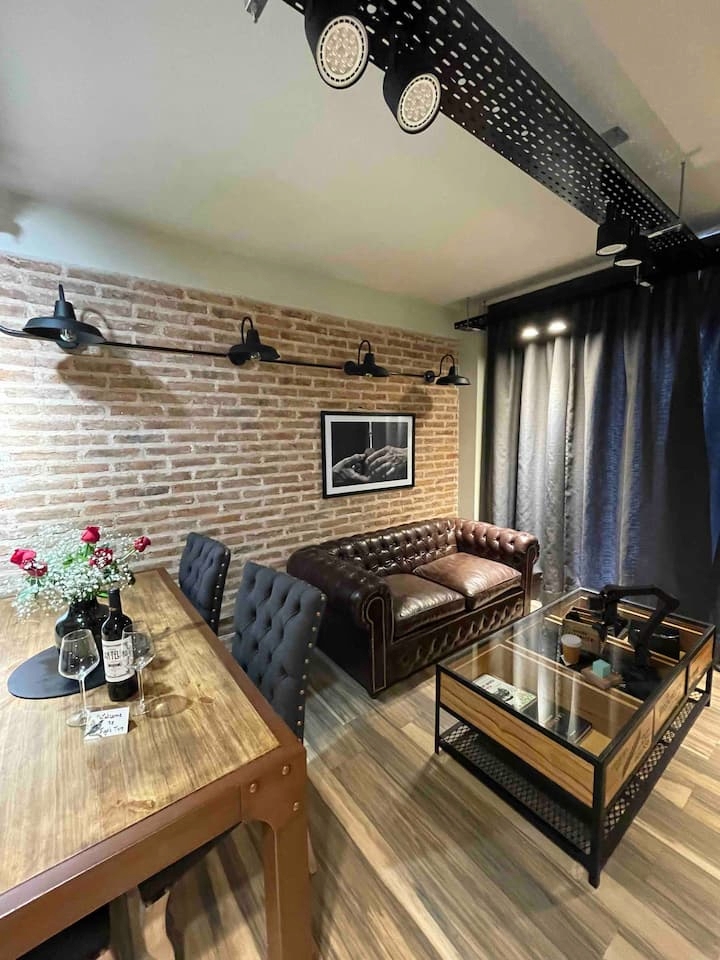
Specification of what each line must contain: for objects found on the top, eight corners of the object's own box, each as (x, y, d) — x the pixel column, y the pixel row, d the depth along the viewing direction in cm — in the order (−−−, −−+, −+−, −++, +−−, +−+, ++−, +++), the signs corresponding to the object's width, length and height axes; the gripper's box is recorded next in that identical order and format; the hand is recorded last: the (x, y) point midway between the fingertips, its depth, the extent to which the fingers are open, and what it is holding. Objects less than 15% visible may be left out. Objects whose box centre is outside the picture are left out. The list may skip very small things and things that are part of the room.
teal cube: (600, 668, 192) (600, 659, 191) (610, 674, 188) (610, 665, 187) (592, 671, 190) (593, 662, 190) (602, 677, 186) (602, 668, 185)
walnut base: (598, 667, 197) (599, 662, 197) (622, 682, 186) (622, 677, 185) (580, 674, 193) (581, 669, 192) (604, 689, 182) (604, 684, 181)
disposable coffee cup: (584, 666, 198) (585, 644, 196) (563, 665, 200) (563, 643, 198) (578, 655, 207) (578, 634, 205) (558, 654, 209) (558, 633, 207)
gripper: (608, 599, 207) (607, 627, 209) (582, 608, 200) (581, 636, 203) (629, 608, 197) (628, 638, 199) (602, 617, 190) (601, 648, 193)
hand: (609, 639), depth 199 cm, fingers open, 9 cm apart
